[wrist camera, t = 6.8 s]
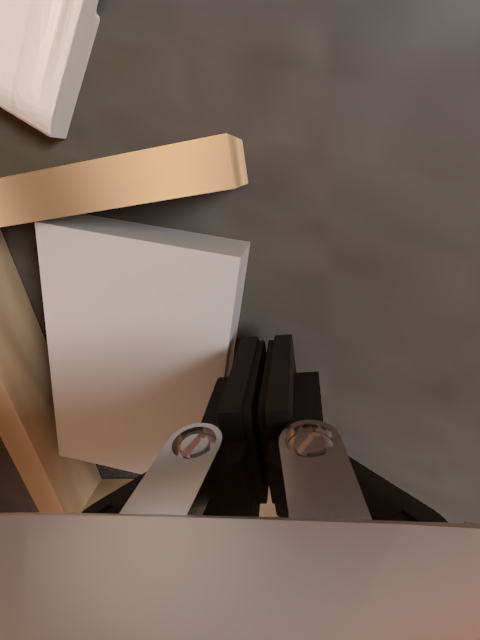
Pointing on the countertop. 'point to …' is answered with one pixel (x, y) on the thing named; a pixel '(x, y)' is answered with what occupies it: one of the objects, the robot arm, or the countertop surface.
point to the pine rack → (19, 318)
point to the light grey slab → (134, 331)
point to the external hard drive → (45, 59)
